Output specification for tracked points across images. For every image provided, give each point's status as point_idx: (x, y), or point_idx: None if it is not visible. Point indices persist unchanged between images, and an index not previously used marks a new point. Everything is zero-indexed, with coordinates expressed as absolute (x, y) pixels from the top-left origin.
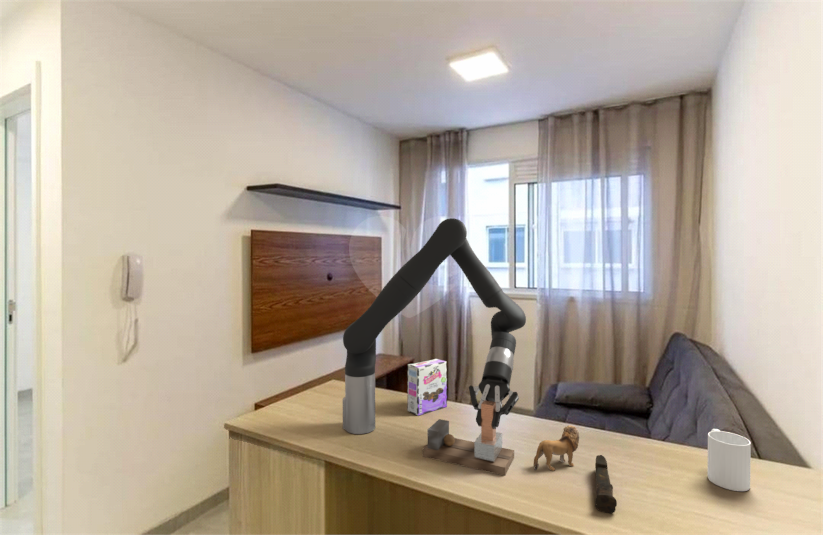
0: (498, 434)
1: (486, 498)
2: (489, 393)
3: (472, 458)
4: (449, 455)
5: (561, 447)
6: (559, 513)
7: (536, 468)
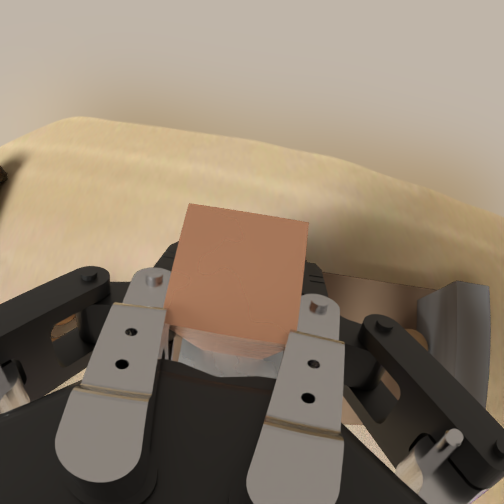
0: None
1: (221, 143)
2: (246, 422)
3: None
4: (373, 280)
5: None
6: (73, 143)
7: None
